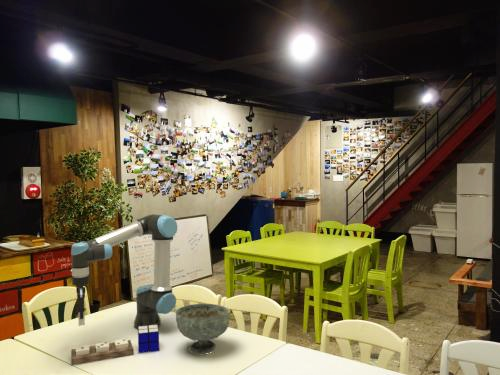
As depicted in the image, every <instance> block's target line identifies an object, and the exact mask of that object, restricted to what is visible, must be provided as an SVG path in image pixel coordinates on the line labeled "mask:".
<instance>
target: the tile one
mask: <svg viewBox="0 0 500 375" xmlns="http://www.w3.org/2000/svg"><path fill="white" fill-rule="evenodd" d="M89 346H90V344H85V345H79V346H75V349H76V356H80V355H86V354H89Z"/></svg>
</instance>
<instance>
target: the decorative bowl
mask: <svg viewBox="0 0 500 375" xmlns="http://www.w3.org/2000/svg"><path fill="white" fill-rule="evenodd" d="M230 313H231V310H230V309H229V308H228V307H226V306H224V305H220V304H214V303H194V304H188V305H184V306H182V307H179V308H178V309H176V311H175V322H176V325H177V329H178V331H179V332H180V333H181V335H182V336H183V337H186V338H187V339H189V340H192V341H194V342H193V343H192V344H191V345H190V346H189V351H190V353H191V354H194V355H200V354H203V355H207V354H206V353H209V354H211V353H210V352H212V351H213V352H214V351H215V350H216V344H215V343H214V342H213V341H212V340H214V339H217V338H219V337H220V336H221V335H223V334H225V333H226V331H227V330H228V328H229V324H230V315H231V314H230ZM213 352H212V353H213Z"/></svg>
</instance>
